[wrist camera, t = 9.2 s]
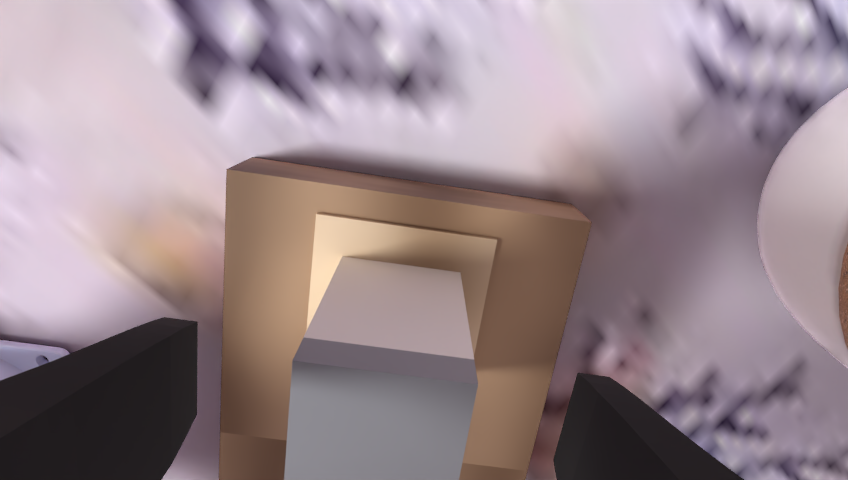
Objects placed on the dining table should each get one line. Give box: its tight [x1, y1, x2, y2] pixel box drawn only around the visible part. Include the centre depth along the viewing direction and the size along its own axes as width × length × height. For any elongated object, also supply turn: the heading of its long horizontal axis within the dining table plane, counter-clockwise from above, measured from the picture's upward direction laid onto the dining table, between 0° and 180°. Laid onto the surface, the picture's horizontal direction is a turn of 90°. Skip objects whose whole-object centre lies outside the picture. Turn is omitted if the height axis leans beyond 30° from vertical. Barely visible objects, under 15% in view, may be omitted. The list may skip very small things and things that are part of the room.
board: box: [219, 157, 592, 480], centre depth 20 cm, size 12×18×3 cm, turn 172°
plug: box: [284, 256, 478, 480], centre depth 15 cm, size 4×4×6 cm
